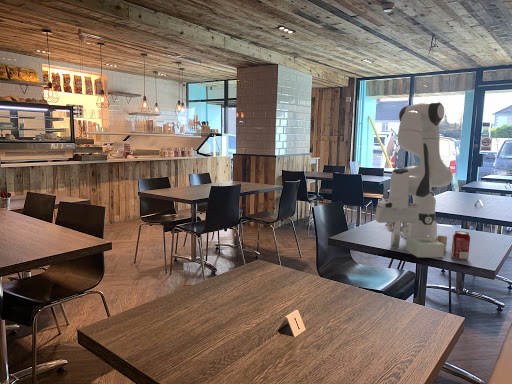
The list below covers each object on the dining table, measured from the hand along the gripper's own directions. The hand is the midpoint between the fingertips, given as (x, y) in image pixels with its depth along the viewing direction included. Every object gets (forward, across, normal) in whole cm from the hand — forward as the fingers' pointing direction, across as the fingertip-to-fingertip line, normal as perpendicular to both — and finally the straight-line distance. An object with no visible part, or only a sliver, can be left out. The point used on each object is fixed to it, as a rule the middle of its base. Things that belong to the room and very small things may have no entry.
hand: (395, 231), depth 189 cm
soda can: (+8, -23, +16) cm, 29 cm away
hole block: (+8, -10, +8) cm, 16 cm away
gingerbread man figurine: (+10, -20, -48) cm, 53 cm away
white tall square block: (+8, 0, 0) cm, 8 cm away
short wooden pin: (+8, -21, +4) cm, 23 cm away
